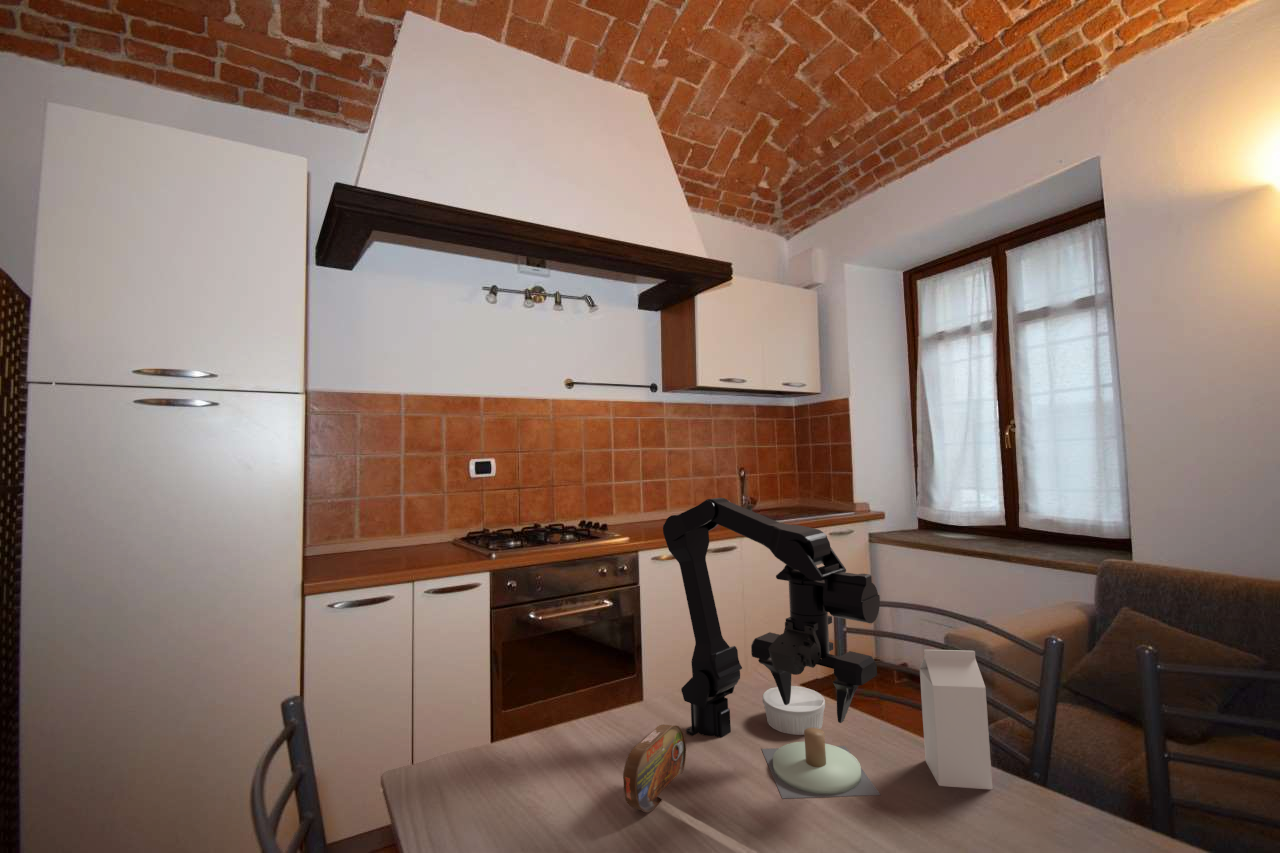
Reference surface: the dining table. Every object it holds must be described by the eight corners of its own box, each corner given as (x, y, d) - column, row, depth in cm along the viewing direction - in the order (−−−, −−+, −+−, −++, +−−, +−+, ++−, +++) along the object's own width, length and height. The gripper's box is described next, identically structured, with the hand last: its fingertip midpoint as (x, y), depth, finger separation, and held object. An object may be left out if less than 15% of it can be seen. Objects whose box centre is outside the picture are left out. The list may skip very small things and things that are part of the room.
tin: (639, 825, 78) (637, 761, 79) (620, 818, 80) (618, 756, 80) (688, 771, 91) (686, 717, 92) (671, 767, 93) (669, 713, 93)
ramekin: (804, 748, 97) (802, 716, 97) (751, 727, 105) (749, 697, 106) (838, 726, 104) (837, 697, 105) (786, 708, 113) (785, 680, 113)
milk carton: (993, 794, 82) (983, 659, 83) (939, 791, 83) (930, 657, 85) (974, 768, 89) (966, 643, 90) (925, 765, 90) (917, 642, 92)
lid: (756, 771, 89) (754, 734, 89) (800, 740, 98) (798, 706, 98) (835, 805, 80) (833, 763, 80) (876, 768, 89) (873, 730, 89)
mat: (782, 804, 82) (782, 798, 82) (761, 753, 96) (761, 748, 96) (880, 800, 82) (880, 794, 82) (845, 750, 96) (845, 745, 96)
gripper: (729, 611, 91) (732, 712, 90) (840, 635, 78) (846, 753, 77) (768, 597, 99) (772, 690, 98) (876, 617, 85) (881, 724, 85)
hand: (812, 712), depth 89 cm, fingers open, 9 cm apart
